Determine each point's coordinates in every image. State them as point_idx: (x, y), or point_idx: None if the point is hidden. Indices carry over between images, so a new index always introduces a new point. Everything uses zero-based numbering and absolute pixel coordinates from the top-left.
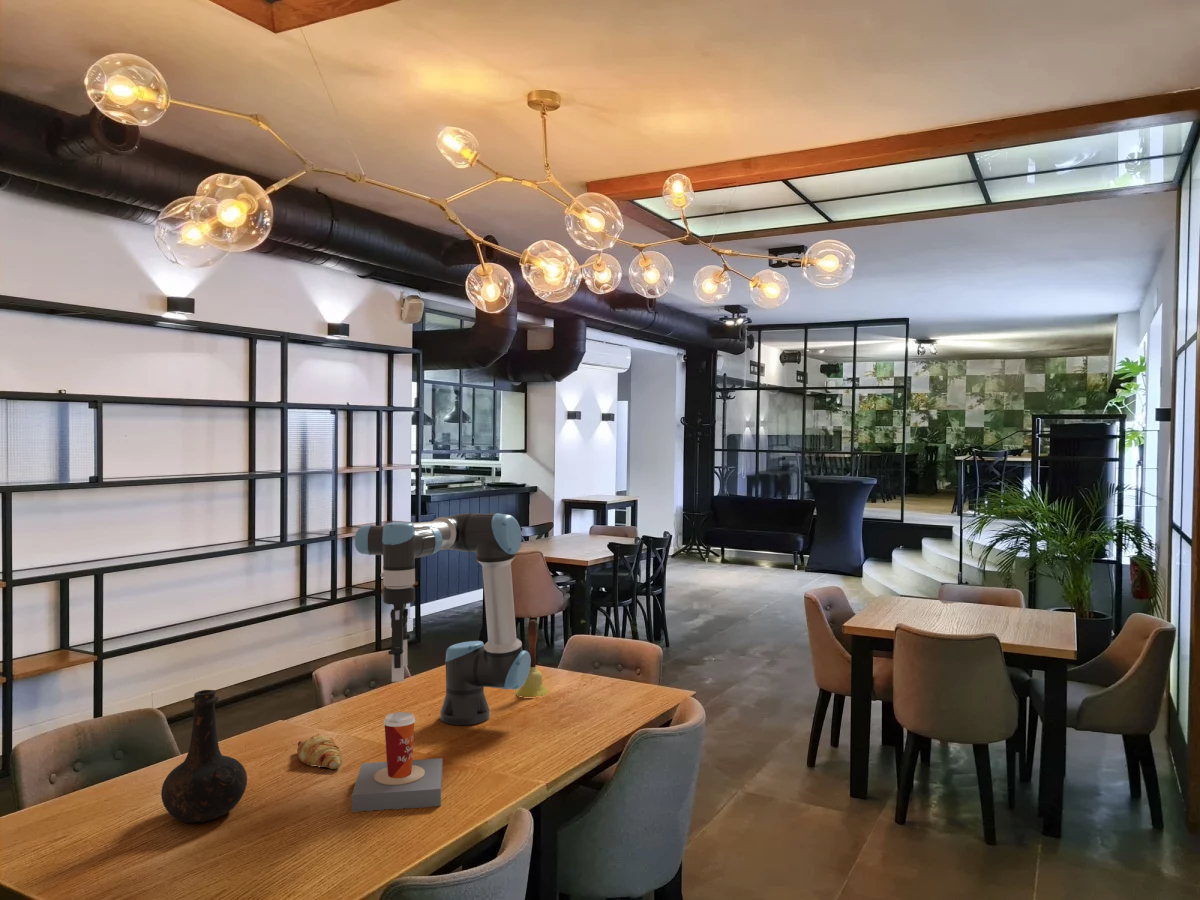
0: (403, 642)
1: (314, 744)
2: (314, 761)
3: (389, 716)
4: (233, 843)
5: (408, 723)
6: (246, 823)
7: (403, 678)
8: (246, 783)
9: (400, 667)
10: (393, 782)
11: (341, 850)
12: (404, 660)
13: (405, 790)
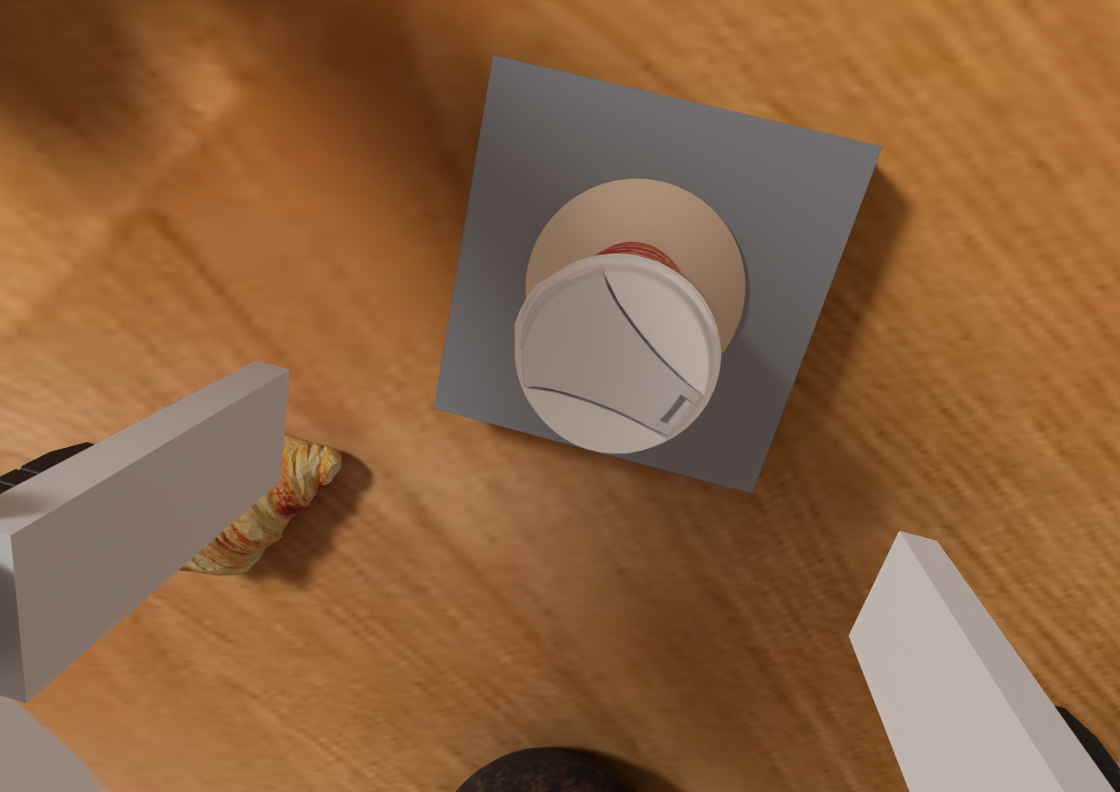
0: (47, 569)
1: (216, 544)
2: (285, 525)
3: (590, 425)
4: (794, 761)
5: (706, 319)
6: (672, 723)
7: (950, 560)
8: (568, 782)
9: (1066, 713)
10: (719, 335)
11: (1030, 537)
12: (248, 425)
13: (815, 300)
